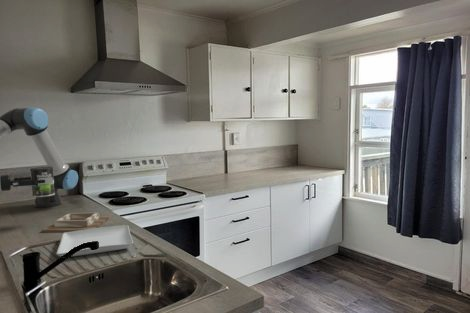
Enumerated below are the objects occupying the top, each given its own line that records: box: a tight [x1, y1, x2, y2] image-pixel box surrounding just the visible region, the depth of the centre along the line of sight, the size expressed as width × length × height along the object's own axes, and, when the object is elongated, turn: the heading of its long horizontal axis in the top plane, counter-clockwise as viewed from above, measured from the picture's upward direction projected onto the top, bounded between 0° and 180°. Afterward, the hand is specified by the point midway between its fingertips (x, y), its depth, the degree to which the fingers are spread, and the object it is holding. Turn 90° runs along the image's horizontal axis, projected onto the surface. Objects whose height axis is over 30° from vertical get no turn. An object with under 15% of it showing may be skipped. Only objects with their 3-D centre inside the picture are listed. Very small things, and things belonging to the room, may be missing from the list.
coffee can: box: [29, 166, 55, 198], centre depth 182 cm, size 10×10×14 cm
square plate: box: [55, 224, 134, 258], centre depth 148 cm, size 27×27×4 cm
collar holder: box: [40, 211, 112, 233], centre depth 178 cm, size 24×24×4 cm
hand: (52, 178), depth 184 cm, fingers closed on coffee can, 10 cm apart
